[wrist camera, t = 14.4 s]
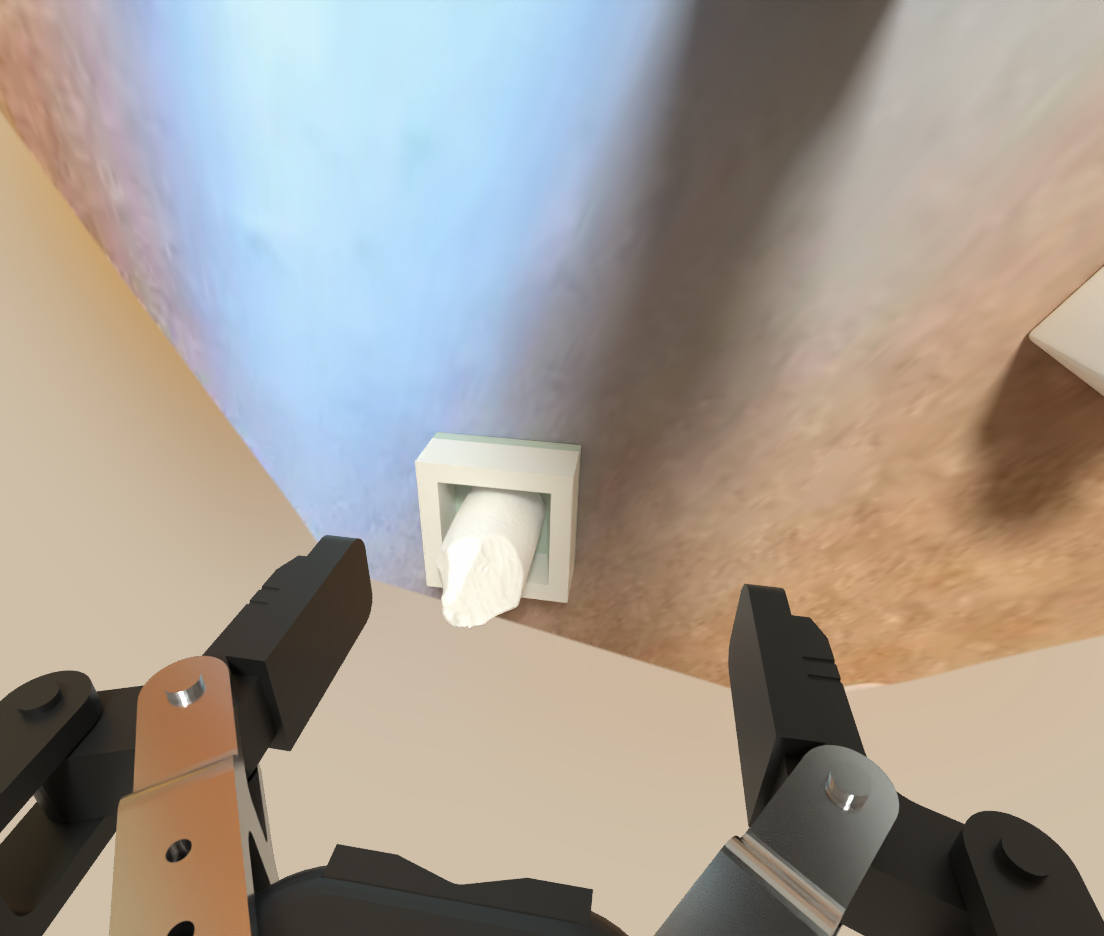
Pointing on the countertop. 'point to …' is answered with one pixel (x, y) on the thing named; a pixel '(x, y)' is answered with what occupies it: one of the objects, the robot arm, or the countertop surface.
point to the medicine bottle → (1077, 332)
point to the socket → (506, 466)
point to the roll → (488, 554)
